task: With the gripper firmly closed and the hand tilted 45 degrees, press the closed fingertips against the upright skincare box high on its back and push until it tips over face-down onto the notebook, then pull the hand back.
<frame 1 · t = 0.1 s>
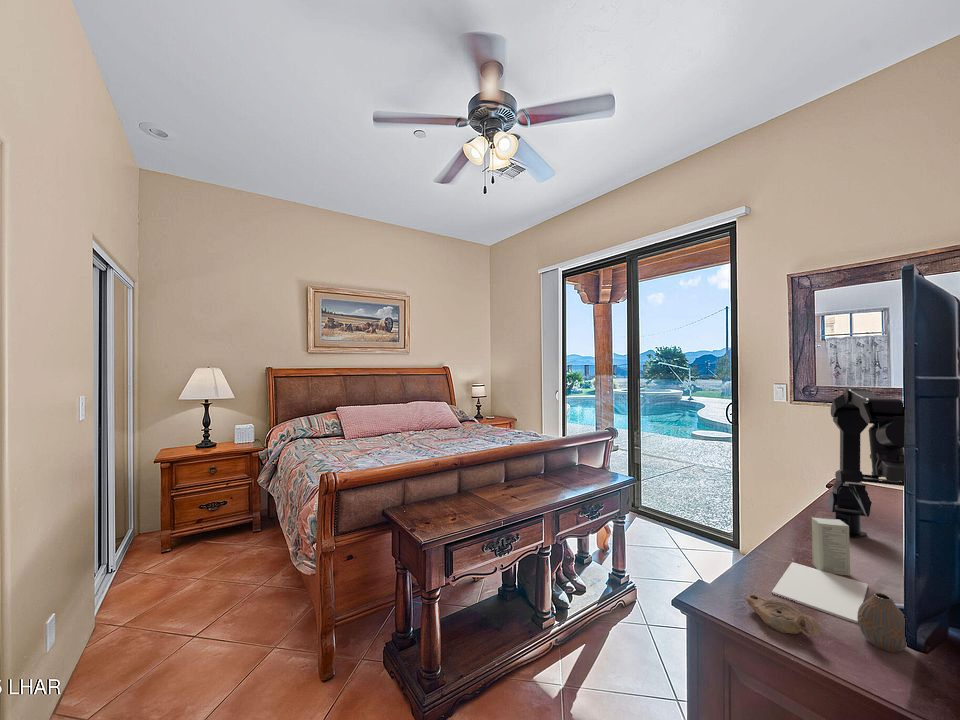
hand: (894, 519, 93), 15 cm above the dresser, tool pointing down, fingers open, 9 cm apart
oil lamp: (781, 628, 79), on the dresser
notebook: (820, 590, 91), on the dresser
skincare box: (830, 571, 100), on the dresser
vase: (883, 645, 74), on the dresser
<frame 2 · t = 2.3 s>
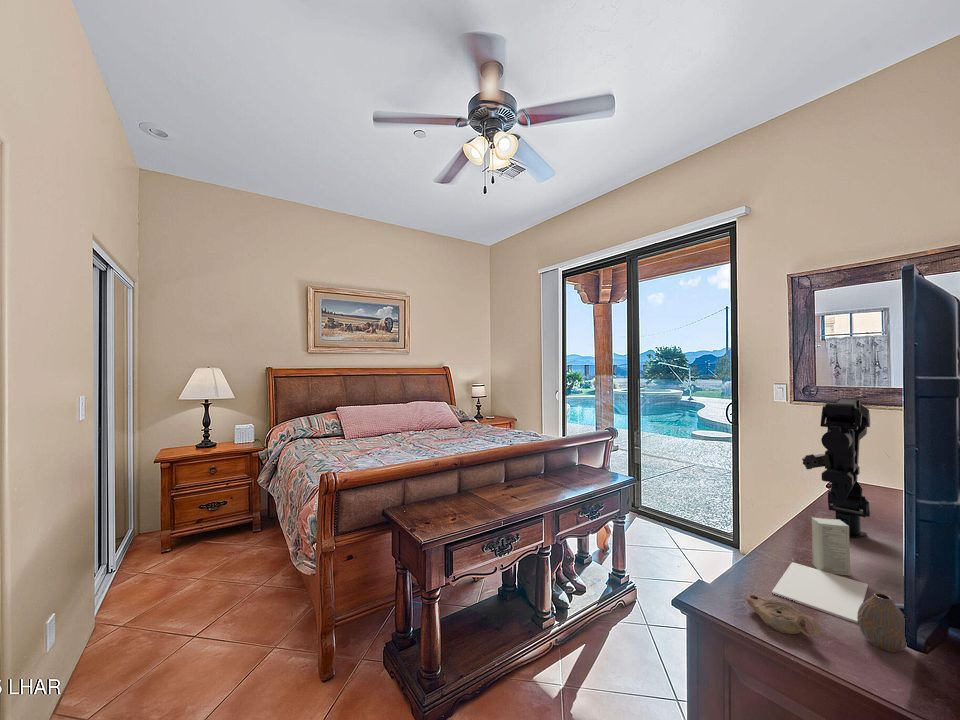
hand: (841, 502, 114), 12 cm above the dresser, tool pointing down, fingers closed
nothing on the dresser moved.
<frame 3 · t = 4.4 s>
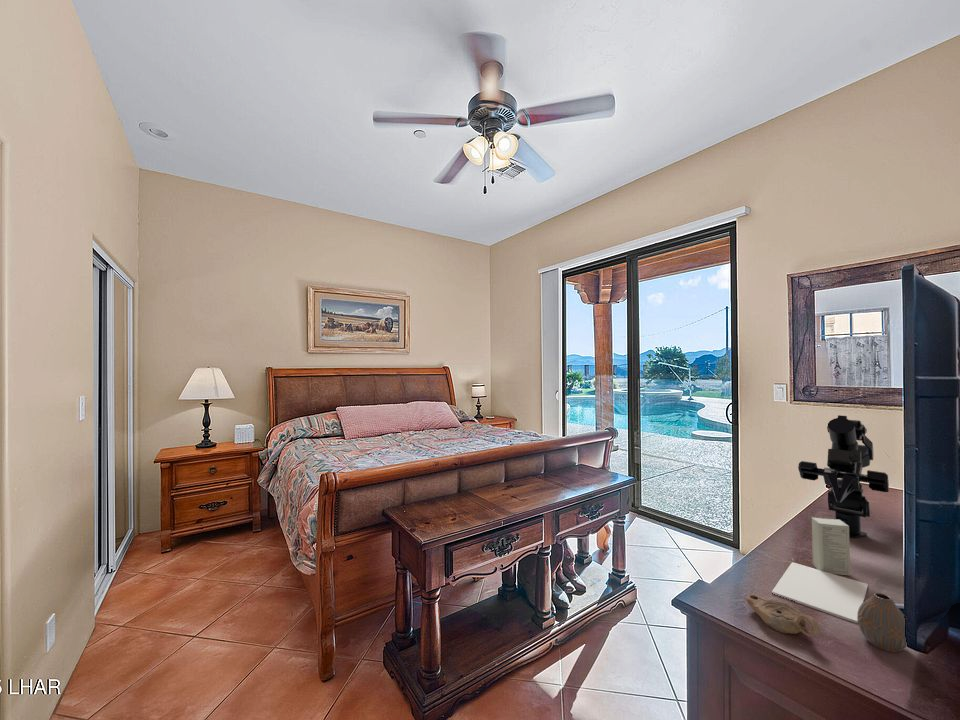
hand: (838, 501, 110), 14 cm above the dresser, tool tilted 45°, fingers closed
nothing on the dresser moved.
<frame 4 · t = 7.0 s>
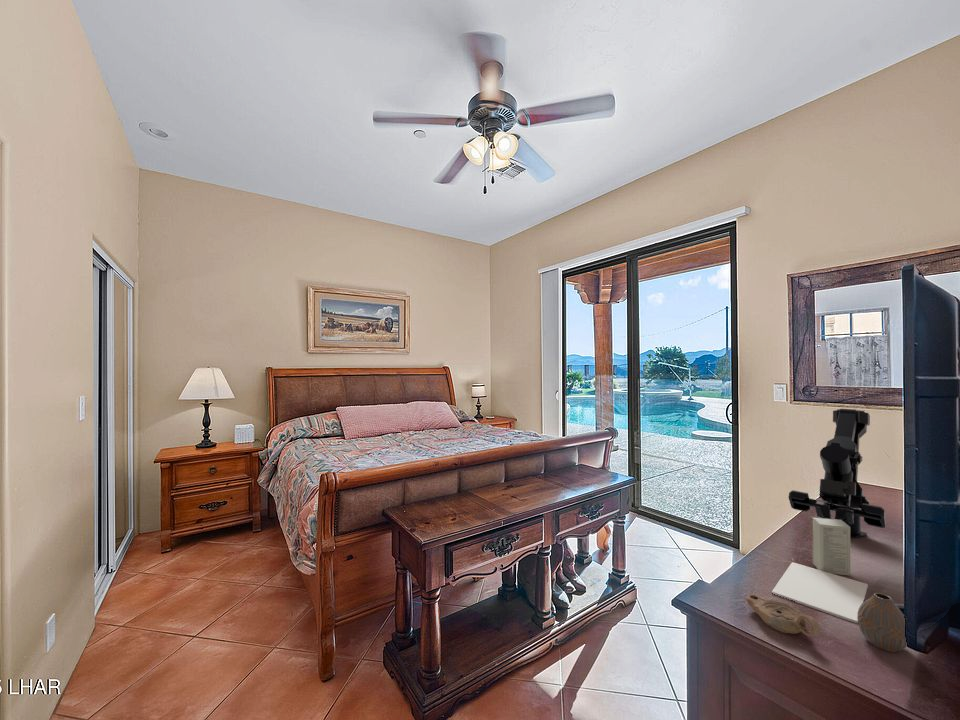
hand: (831, 537, 102), 7 cm above the dresser, tool tilted 45°, fingers closed
skincare box: (830, 570, 100), on the dresser, touching gripper
everything else where it was.
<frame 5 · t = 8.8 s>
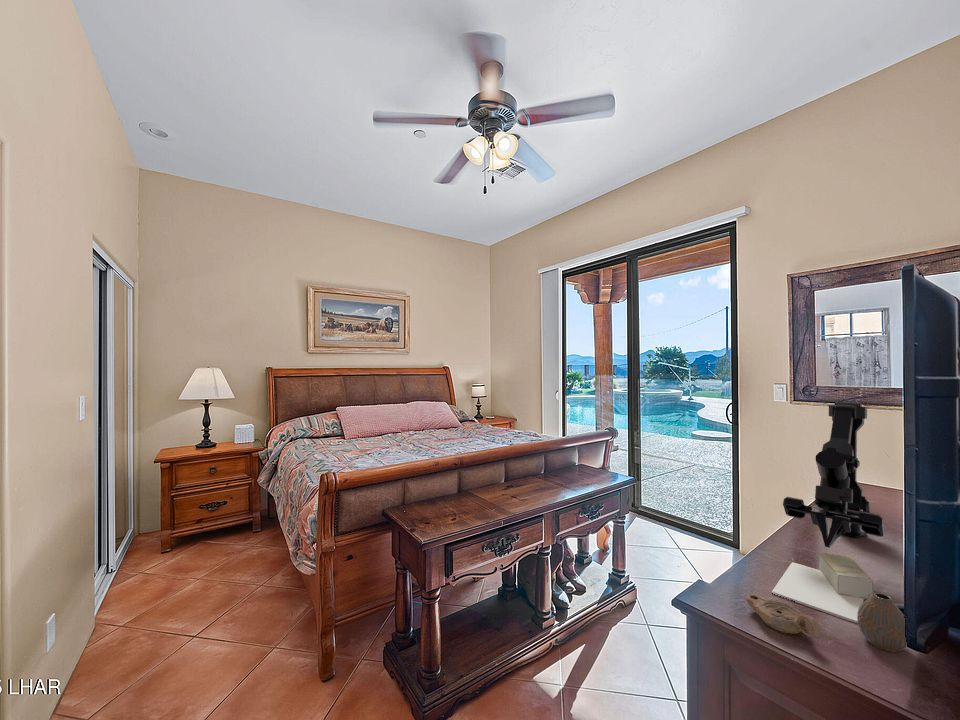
hand: (826, 546, 98), 7 cm above the dresser, tool tilted 45°, fingers closed
skincare box: (833, 562, 99), point 3 cm above the dresser, touching notebook
everything else where it was.
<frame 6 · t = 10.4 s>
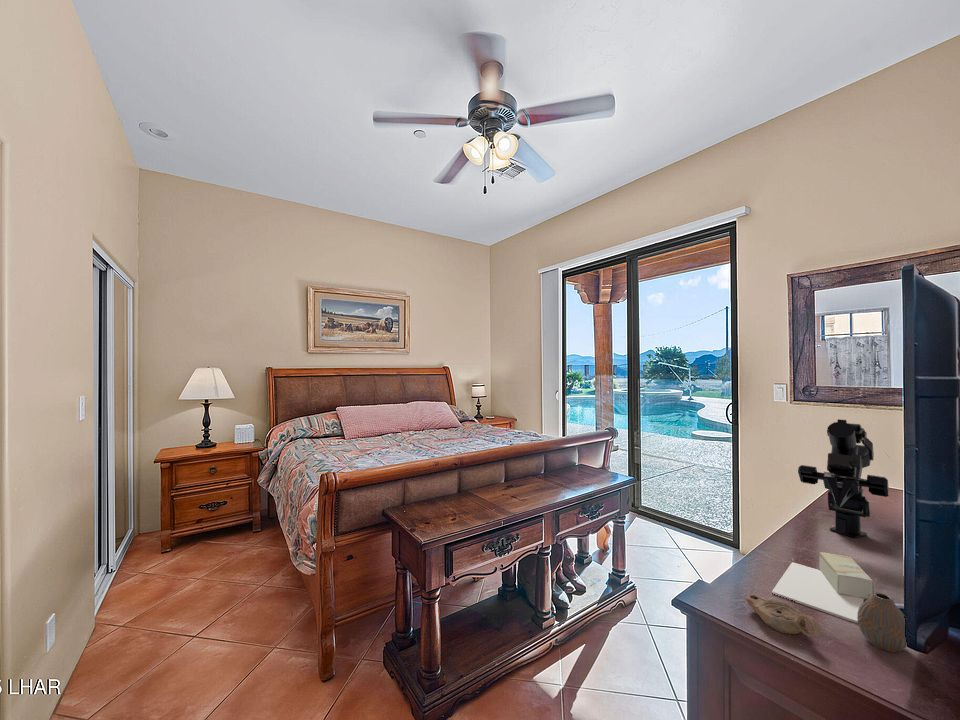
hand: (838, 506, 110), 12 cm above the dresser, tool tilted 45°, fingers closed
nothing on the dresser moved.
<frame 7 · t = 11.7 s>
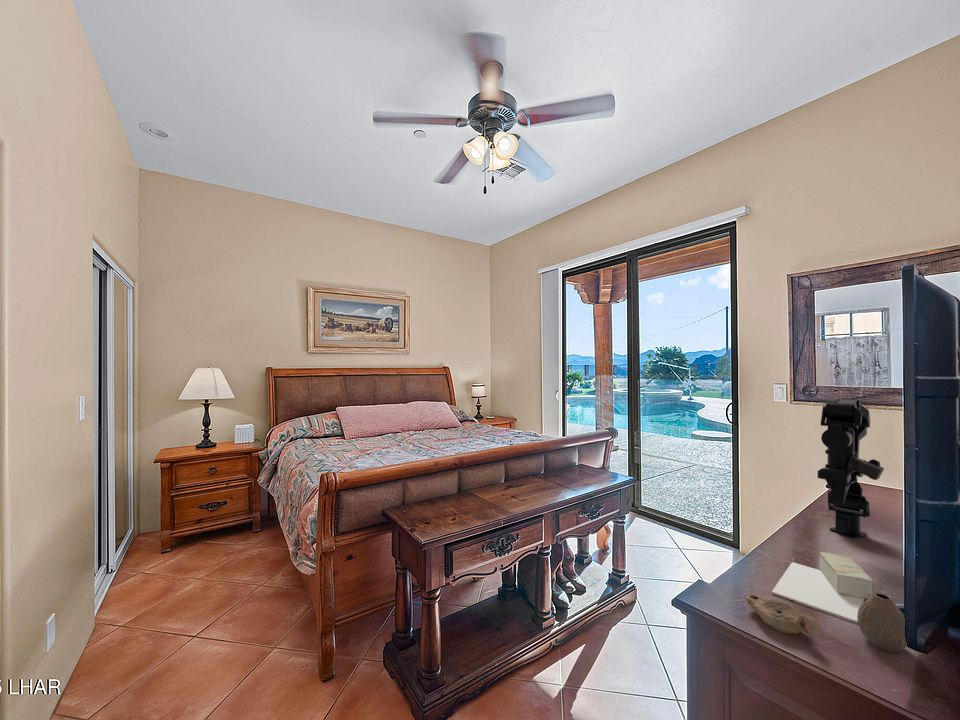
hand: (840, 503, 113), 12 cm above the dresser, tool pointing down, fingers closed
nothing on the dresser moved.
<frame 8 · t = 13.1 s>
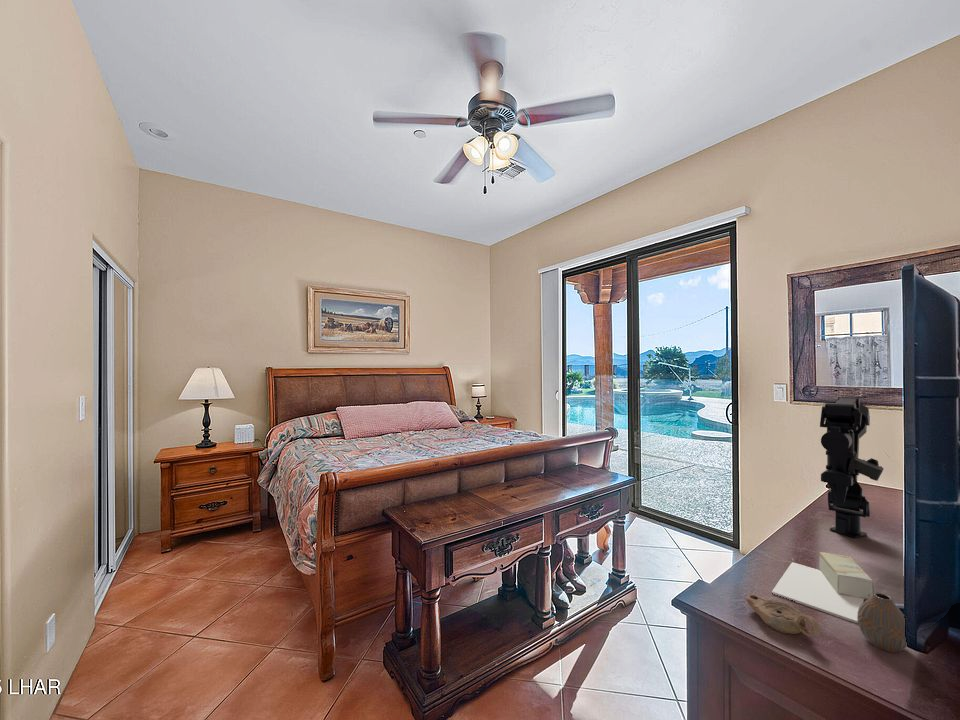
hand: (841, 503, 113), 12 cm above the dresser, tool pointing down, fingers closed
nothing on the dresser moved.
at the end: skincare box tilted 89°; skincare box touching notebook; the gripper is holding nothing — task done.
